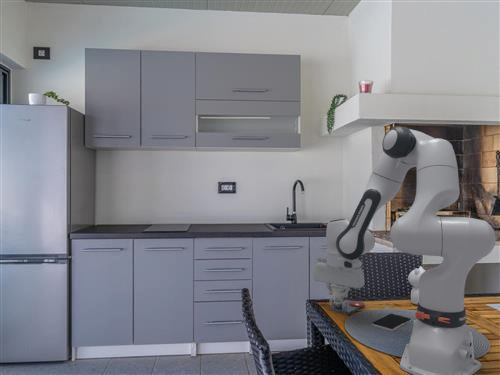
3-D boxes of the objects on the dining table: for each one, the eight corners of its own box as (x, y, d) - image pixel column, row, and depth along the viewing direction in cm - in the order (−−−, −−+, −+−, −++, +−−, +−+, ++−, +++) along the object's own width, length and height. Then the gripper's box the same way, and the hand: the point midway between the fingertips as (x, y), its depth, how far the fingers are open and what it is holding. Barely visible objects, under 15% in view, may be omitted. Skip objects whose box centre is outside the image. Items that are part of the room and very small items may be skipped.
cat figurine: (412, 299, 154) (411, 264, 154) (445, 305, 146) (444, 267, 146) (405, 304, 147) (404, 267, 148) (438, 311, 139) (437, 271, 139)
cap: (340, 302, 138) (340, 290, 138) (328, 299, 141) (328, 288, 141) (347, 298, 142) (347, 286, 142) (335, 296, 146) (335, 284, 146)
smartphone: (412, 318, 130) (393, 329, 119) (412, 322, 130) (393, 333, 119) (390, 313, 135) (370, 322, 125) (390, 316, 135) (370, 326, 125)
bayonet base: (351, 315, 135) (351, 304, 135) (326, 309, 142) (326, 299, 142) (367, 306, 145) (367, 296, 145) (343, 301, 152) (343, 291, 152)
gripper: (310, 258, 146) (310, 292, 146) (358, 265, 133) (359, 302, 133) (318, 256, 151) (318, 289, 151) (365, 262, 138) (366, 298, 137)
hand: (338, 295), depth 142 cm, fingers closed on cap, 4 cm apart
